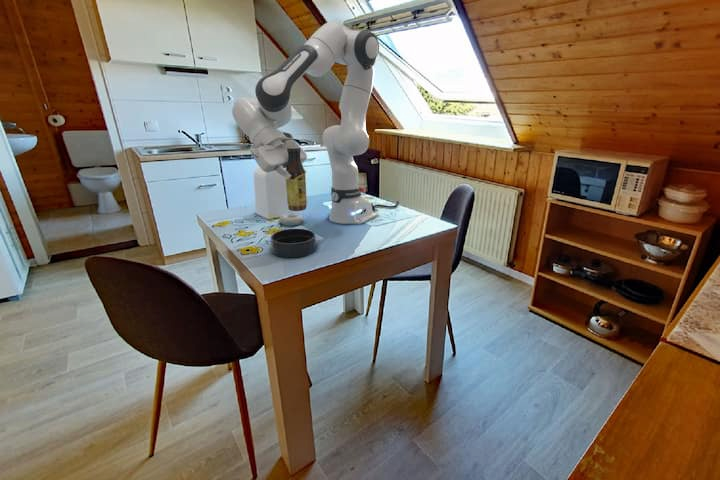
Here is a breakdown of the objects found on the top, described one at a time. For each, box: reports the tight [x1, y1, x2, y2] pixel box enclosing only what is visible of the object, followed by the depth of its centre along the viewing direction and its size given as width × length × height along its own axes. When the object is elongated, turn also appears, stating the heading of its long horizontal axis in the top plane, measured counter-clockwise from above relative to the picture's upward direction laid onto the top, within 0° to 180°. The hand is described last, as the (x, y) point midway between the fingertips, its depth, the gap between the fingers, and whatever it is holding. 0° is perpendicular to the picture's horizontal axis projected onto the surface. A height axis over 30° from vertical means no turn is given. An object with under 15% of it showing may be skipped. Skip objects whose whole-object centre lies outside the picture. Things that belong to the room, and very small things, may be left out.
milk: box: [253, 165, 292, 220], centre depth 153 cm, size 12×12×26 cm
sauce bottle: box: [285, 147, 308, 212], centre depth 110 cm, size 6×6×20 cm
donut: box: [278, 212, 304, 227], centre depth 145 cm, size 10×4×10 cm
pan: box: [270, 228, 317, 258], centre depth 119 cm, size 15×15×5 cm
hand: (297, 176), depth 110 cm, fingers closed on sauce bottle, 6 cm apart
